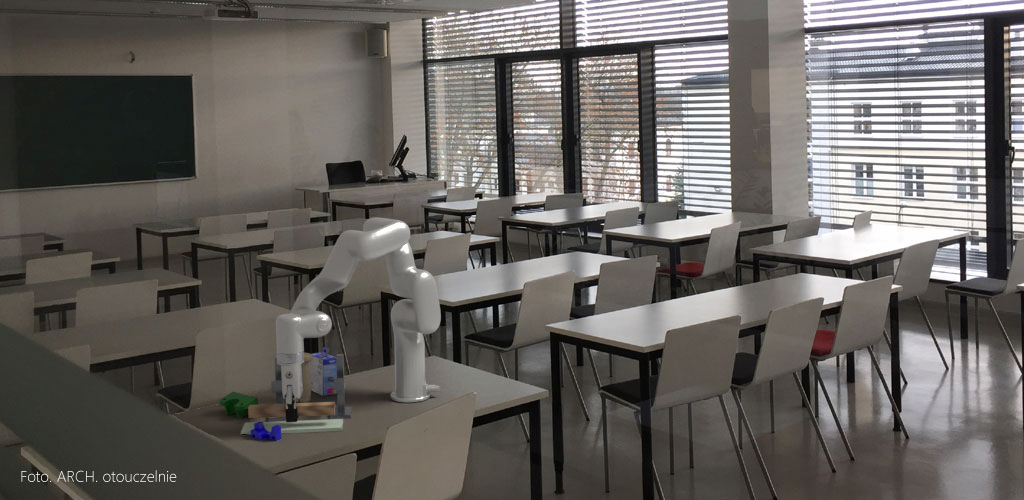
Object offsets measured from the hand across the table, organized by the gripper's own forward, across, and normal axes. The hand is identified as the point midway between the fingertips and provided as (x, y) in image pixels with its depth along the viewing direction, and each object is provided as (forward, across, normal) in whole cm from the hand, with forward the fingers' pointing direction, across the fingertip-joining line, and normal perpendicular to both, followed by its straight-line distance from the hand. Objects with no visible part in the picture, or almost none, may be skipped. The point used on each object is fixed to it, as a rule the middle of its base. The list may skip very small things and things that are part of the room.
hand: (292, 419), depth 271 cm
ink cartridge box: (+3, +36, -6) cm, 37 cm away
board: (+3, 0, 0) cm, 3 cm away
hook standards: (+3, +11, -4) cm, 12 cm away
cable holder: (+3, -8, +6) cm, 11 cm away
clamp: (+3, +15, +17) cm, 23 cm away
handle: (+3, +26, -1) cm, 27 cm away
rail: (-1, 0, 0) cm, 1 cm away
